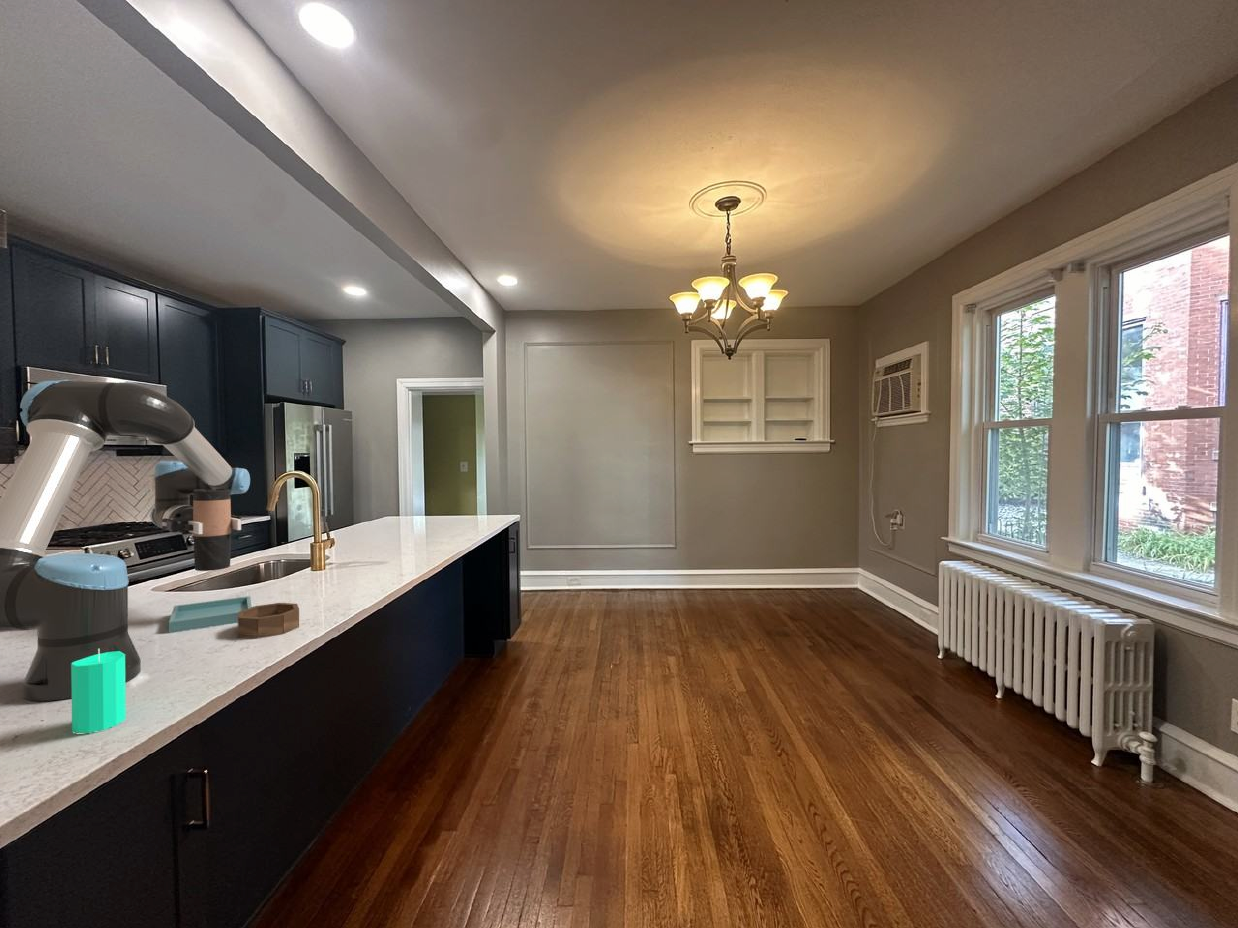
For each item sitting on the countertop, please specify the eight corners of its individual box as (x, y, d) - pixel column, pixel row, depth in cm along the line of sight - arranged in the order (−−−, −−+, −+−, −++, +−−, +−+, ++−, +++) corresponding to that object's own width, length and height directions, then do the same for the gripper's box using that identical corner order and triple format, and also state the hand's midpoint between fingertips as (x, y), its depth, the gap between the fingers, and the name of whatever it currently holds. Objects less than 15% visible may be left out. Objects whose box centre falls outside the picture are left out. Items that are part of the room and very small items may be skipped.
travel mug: (215, 571, 129) (214, 491, 129) (185, 571, 129) (184, 490, 129) (238, 564, 137) (238, 488, 136) (210, 564, 137) (209, 488, 136)
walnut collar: (238, 641, 117) (238, 621, 117) (237, 626, 127) (237, 608, 127) (300, 630, 124) (300, 612, 124) (295, 617, 134) (295, 600, 134)
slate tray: (168, 632, 122) (168, 622, 122) (174, 615, 135) (174, 605, 135) (252, 620, 132) (252, 610, 132) (250, 605, 144) (250, 596, 144)
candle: (75, 739, 77) (74, 659, 77) (68, 726, 81) (67, 649, 81) (130, 722, 82) (129, 647, 82) (121, 711, 86) (120, 638, 85)
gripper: (229, 528, 151) (265, 536, 139) (136, 537, 134) (169, 547, 122) (229, 502, 151) (265, 508, 138) (136, 508, 134) (168, 515, 121)
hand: (220, 526), depth 130 cm, fingers closed on travel mug, 7 cm apart
